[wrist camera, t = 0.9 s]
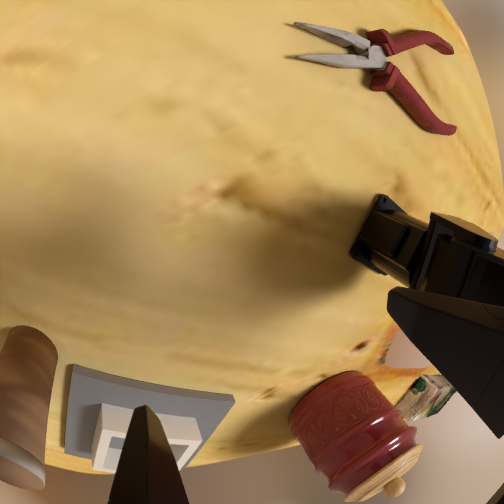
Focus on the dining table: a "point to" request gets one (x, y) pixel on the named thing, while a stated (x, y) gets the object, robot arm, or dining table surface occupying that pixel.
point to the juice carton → (426, 397)
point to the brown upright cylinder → (25, 405)
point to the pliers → (385, 66)
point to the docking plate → (121, 409)
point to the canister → (355, 437)
